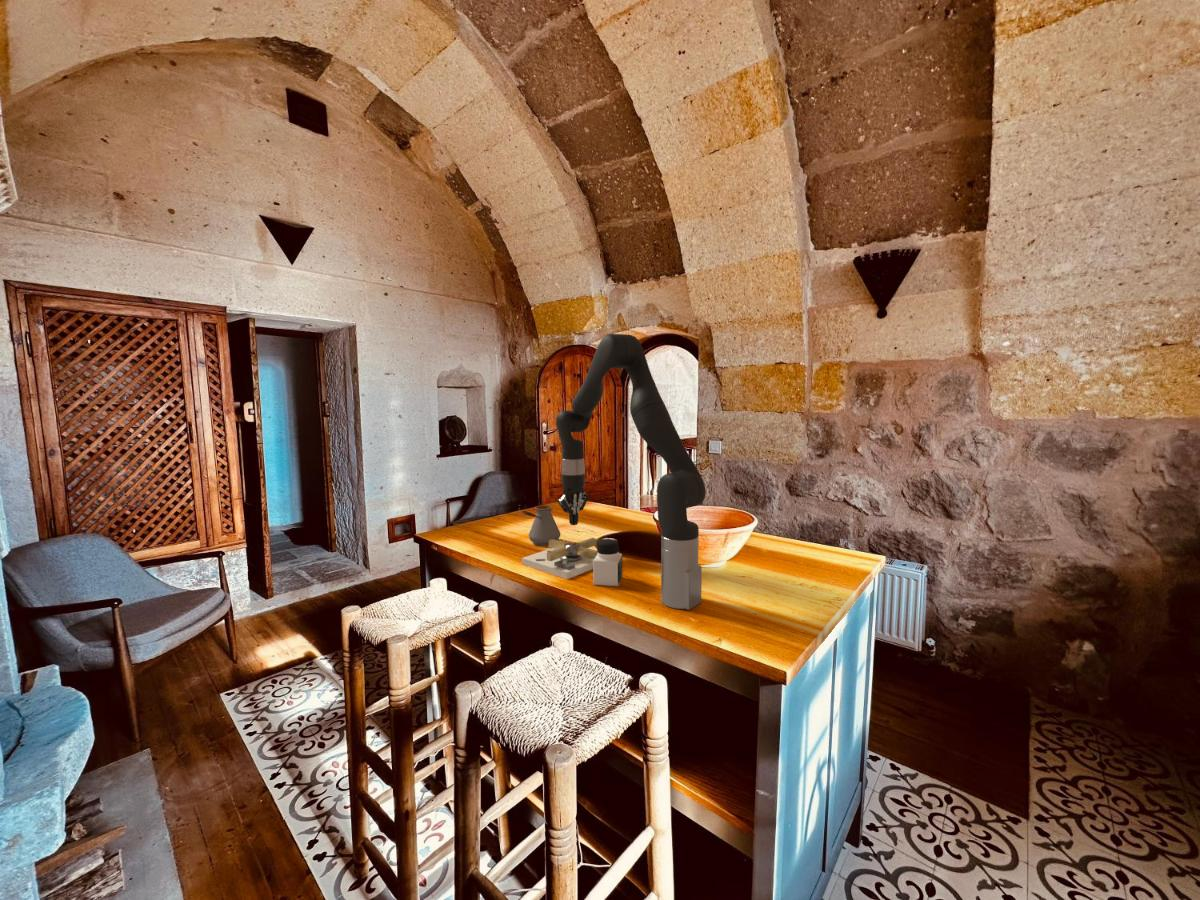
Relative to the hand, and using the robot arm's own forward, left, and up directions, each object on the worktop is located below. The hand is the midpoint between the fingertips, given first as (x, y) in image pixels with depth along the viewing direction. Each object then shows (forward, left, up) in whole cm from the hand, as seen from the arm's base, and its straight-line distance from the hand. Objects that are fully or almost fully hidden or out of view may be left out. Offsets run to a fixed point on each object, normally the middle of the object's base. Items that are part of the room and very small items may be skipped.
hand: (574, 524), depth 161 cm
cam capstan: (-6, +7, -8) cm, 13 cm away
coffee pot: (+17, +1, -11) cm, 20 cm away
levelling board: (-3, +7, -10) cm, 13 cm away
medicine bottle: (-23, +10, -11) cm, 27 cm away
